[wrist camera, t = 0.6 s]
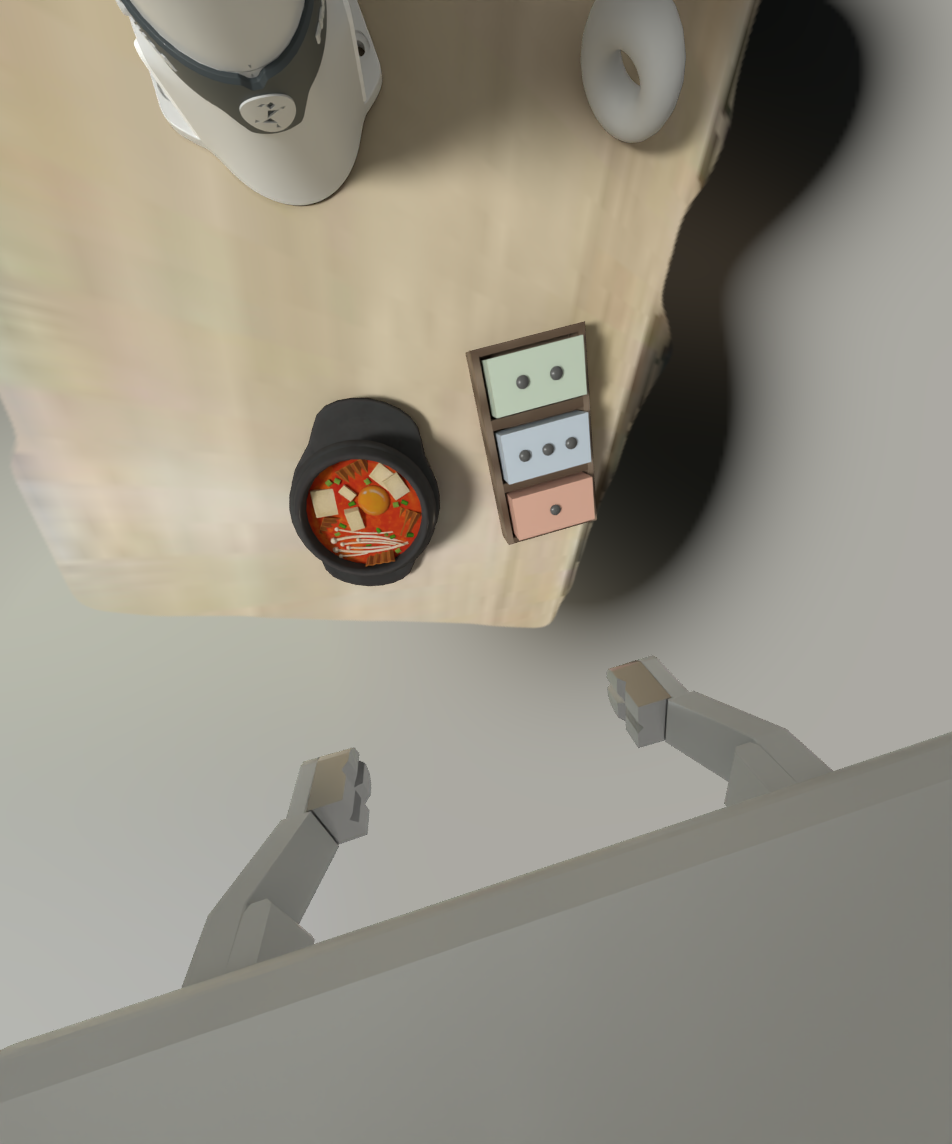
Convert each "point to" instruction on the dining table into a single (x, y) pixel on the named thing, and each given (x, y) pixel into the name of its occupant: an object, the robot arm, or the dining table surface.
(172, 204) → the dining table surface
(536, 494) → the counting block
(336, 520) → the casserole
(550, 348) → the counting block
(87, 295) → the dining table surface
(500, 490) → the wooden counting block tray
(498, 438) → the counting block
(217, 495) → the dining table surface
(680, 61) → the donut
